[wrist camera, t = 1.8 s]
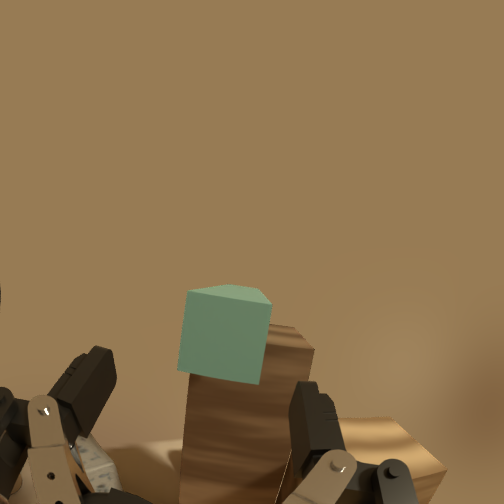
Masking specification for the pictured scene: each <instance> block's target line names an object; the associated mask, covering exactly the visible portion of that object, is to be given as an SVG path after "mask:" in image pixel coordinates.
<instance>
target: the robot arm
mask: <svg viewBox="0 0 504 504" xmlns="http://www.w3.org/2000/svg"><path fill="white" fill-rule="evenodd" d="M0 300H1V290H0ZM0 302H1V301H0ZM116 380H117V375H116V369H115V364H114V358H113V353H112V351H111V350H110V349H107V348H103V347H99V346H94V347H93V348H92V349H91V351H90V352H89V353H88V354H85V353H83V354H82V355H80V356H79V357H77V358H75V359H74V360H73V362H72V363H71V364H70V366H69V368H67V369H66V371H65V373H63V375H62V376H61V377H60V379H59V380H58V381H57V382H56V384H55V385H54V386H53V388H52V389H51V391H50V392H49V393H48V394H47V395H39V396H36V397H34V398H33V399H31V401H27V400H22V399H17V398H14V396H13V394H12V392H11V391H10V390H9V389H7V388H5V387H0V504H9V502H8V499H9V497H10V494H13V493H15V492H17V491H18V490H19V489H20V487H21V485H22V478H21V474H20V472H21V470H22V468H23V466H24V464H25V462H26V460H27V458H29V464H30V469H31V474H32V479H33V483H34V488H35V492H36V496H37V499H38V503H39V504H153V503H151V502H149V501H147V500H145V499H143V498H141V497H139V496H136V495H133V494H130V493H127V492H124V491H121V490H118V489H115V488H112V487H111V489H110V492H109V493H108V492H95V491H94V489H93V487H92V485H91V483H90V481H89V479H88V477H87V474H86V471H85V468H84V465H83V462H82V459H81V456H80V453H79V449H78V446H77V443H76V439H77V437H78V435H79V436H81V437H84V438H86V439H87V438H88V436H89V434H90V432H91V430H92V428H93V426H94V424H95V422H96V421H97V418H98V417H99V415H100V413H101V411H102V409H103V407H104V406H105V404H106V402H107V400H108V398H109V396H110V394H111V393H112V391H113V389H114V387H115V385H116ZM288 417H289V428H290V439H291V449H292V461H293V472H294V478H302V482H301V484H300V485H299V486H298V487H297V488H296V489H295V491H294V492H292V493H291V494H290V495H289V496H288V497H287V498H286V500H285V501H284V502H283V503H282V504H419V502H418V498H417V495H416V491H415V488H414V484H413V481H412V477H411V474H410V471H409V468H408V466H407V465H406V464H405V463H404V462H403V461H401V460H398V459H387V460H384V461H383V462H382V463H381V464H380V465H375V464H369V463H363V462H359V461H357V460H356V459H355V458H354V457H353V456H352V455H351V454H350V453H348V452H347V451H346V448H345V444H344V440H343V436H342V432H341V428H340V425H339V421H338V417H337V414H336V409H335V406H334V402H333V401H332V400H331V398H330V397H329V396H328V395H327V394H319V390H318V386H317V383H316V382H312V381H298V382H297V384H296V387H295V390H294V393H293V396H292V399H291V402H290V405H289V413H288Z"/></svg>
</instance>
